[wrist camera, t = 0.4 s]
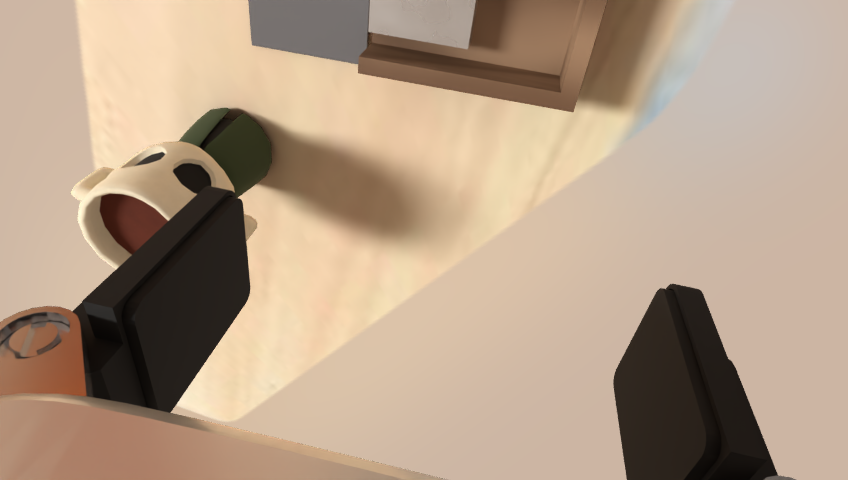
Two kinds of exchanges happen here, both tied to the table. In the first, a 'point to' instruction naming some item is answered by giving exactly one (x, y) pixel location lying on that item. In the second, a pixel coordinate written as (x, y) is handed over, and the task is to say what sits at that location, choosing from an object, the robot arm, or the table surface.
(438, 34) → the concrete block
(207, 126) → the character mug
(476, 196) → the table surface
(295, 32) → the gray mat
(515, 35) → the walnut box
